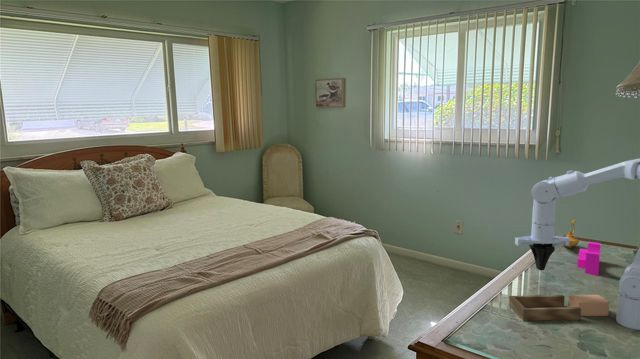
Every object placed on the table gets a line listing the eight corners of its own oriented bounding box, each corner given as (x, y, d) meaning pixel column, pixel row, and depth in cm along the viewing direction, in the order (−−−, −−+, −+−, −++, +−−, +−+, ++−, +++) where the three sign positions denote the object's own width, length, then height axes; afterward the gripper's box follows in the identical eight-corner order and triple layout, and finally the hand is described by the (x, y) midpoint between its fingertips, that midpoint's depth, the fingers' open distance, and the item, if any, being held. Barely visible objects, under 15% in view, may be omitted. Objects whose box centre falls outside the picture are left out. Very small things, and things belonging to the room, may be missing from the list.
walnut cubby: (562, 304, 126) (562, 294, 126) (580, 319, 117) (581, 308, 117) (508, 305, 126) (509, 295, 126) (523, 320, 117) (523, 309, 117)
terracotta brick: (597, 308, 124) (598, 294, 123) (608, 316, 119) (609, 302, 118) (567, 308, 124) (568, 294, 124) (577, 316, 119) (578, 302, 119)
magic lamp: (551, 255, 169) (552, 226, 168) (563, 244, 182) (565, 217, 181) (571, 258, 165) (573, 229, 163) (582, 247, 178) (584, 220, 176)
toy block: (579, 260, 163) (580, 240, 162) (599, 263, 160) (600, 243, 158) (576, 273, 151) (577, 251, 149) (597, 276, 147) (599, 254, 146)
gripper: (561, 219, 129) (558, 263, 132) (511, 219, 129) (509, 264, 132) (575, 225, 122) (571, 272, 125) (522, 226, 123) (519, 273, 125)
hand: (540, 269), depth 128 cm, fingers closed
